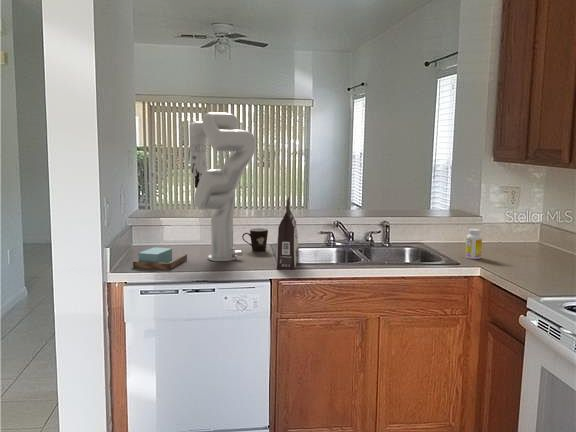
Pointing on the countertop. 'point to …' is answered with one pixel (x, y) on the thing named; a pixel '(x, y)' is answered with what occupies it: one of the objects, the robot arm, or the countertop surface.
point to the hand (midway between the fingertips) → (198, 187)
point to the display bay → (160, 264)
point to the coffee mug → (258, 239)
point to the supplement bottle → (473, 244)
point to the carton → (156, 255)
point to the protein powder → (287, 242)
